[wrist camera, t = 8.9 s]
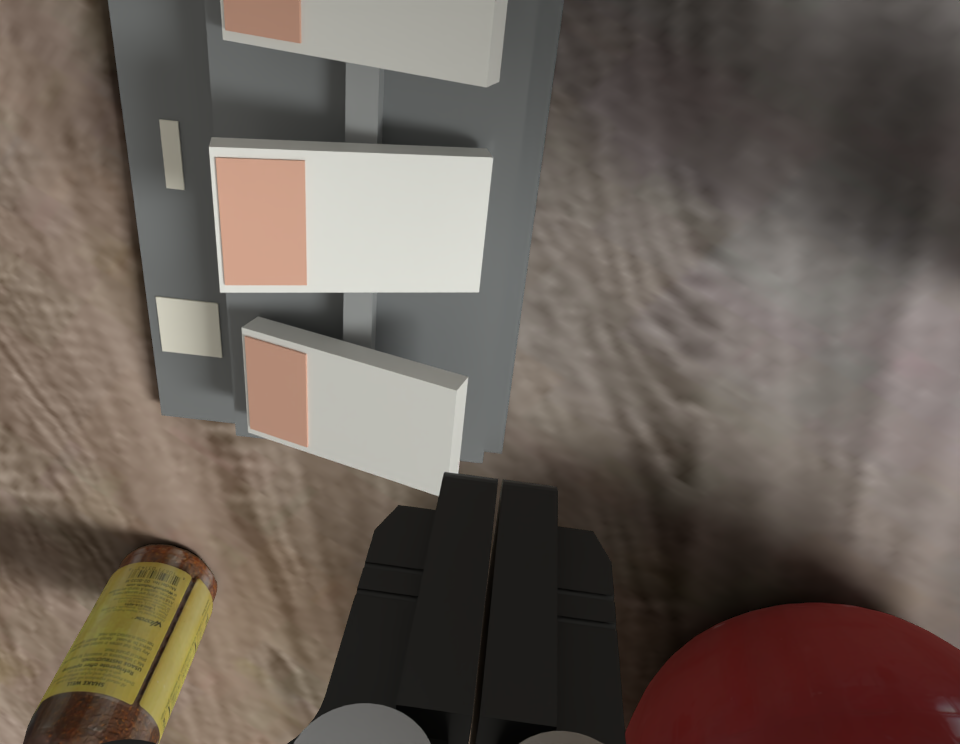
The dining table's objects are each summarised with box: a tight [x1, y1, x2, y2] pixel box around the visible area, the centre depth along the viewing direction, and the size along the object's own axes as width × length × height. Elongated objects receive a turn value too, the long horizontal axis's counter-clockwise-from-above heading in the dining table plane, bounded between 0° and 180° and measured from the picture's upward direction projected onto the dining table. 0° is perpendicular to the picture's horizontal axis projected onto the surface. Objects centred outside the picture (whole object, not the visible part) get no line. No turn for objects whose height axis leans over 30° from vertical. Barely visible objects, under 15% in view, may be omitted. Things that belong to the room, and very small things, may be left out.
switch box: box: [108, 0, 564, 463], centre depth 33 cm, size 18×28×5 cm, turn 174°
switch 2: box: [209, 137, 493, 293], centre depth 30 cm, size 10×6×1 cm, turn 85°
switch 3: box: [242, 316, 468, 496], centre depth 35 cm, size 10×6×1 cm, turn 84°
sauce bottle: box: [23, 544, 217, 744], centre depth 41 cm, size 7×6×20 cm
